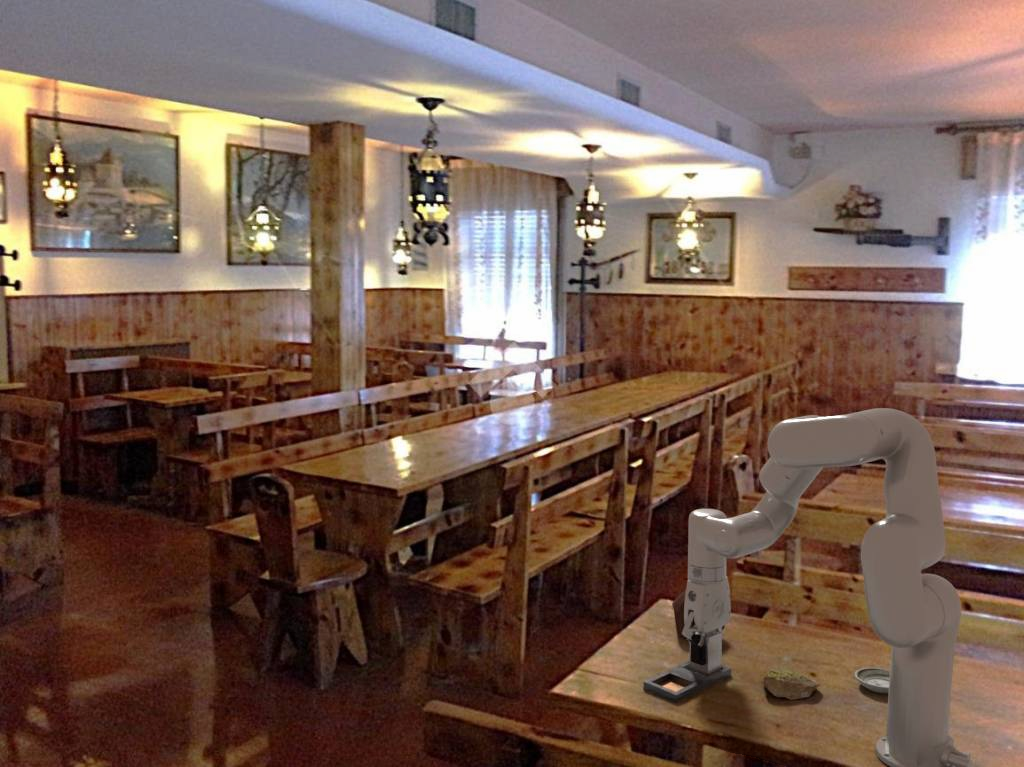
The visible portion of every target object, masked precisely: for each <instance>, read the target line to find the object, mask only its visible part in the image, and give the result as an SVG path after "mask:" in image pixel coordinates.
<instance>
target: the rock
mask: <svg viewBox="0 0 1024 767" xmlns="http://www.w3.org/2000/svg"><path fill="white" fill-rule="evenodd" d="M761 683H762V685H764V687H765V688H766V689H767V690H768V691H769V692H770V694H772V695H773V697H777V698H786V699H788V700H792V701H793V700H798V699H799V700H800V699H804V698H809V697H810V696H811V695H813V691H815V690H817V688H819V686H820V685H821V684H820V683H819V682H817V681H816V680H815V679H812V678H810V677H808V676H807V675H804V674H803V673H801V672H799V671H797V670H795V669H793V668H778V667H774V668H772V669H770V671H767V674H766V675H765V676H764V677H763V678H761Z"/></svg>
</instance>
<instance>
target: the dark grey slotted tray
mask: <svg viewBox="0 0 1024 767" xmlns="http://www.w3.org/2000/svg"><path fill="white" fill-rule="evenodd" d="M730 676H732V668H731V667H729V666H726V665H723V664H721V670H720V671H718V672H716V673H714V674H711V675H709V676H704V675H701V674H699V673H696V672H693V671H690V660H688V661H686V662H684V663H682V664H679V665H677V666H675V667H673V668H670V669H668V670H666V671H664V672H662V673H659V674H657V675H655V676H652V677H651V678H649V679H646V680H644V681H643V690H645V691H647V692H650V693H653V694H655V695H658V696H659V697H661V698H664V699H667V700H669V701H672V702H674V703H679V702H680V701H682V700H684V699H686V698H689V697H691V696H693V695H695V694H696V693H699V692H701V691H703V690H704V689H707V688H710V687H711V686H713V685H715V684H717V683H718V682H721V681H723V680H725V679H727V678H729V677H730Z"/></svg>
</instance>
